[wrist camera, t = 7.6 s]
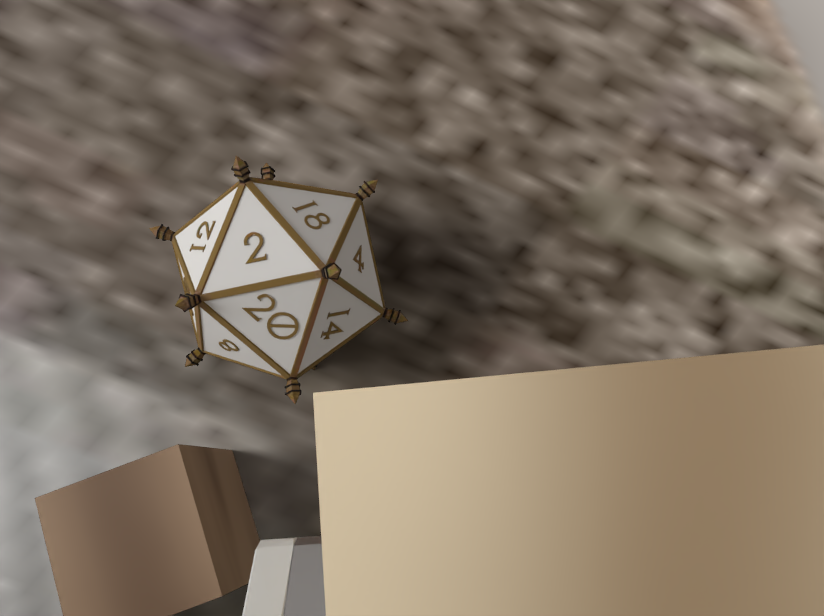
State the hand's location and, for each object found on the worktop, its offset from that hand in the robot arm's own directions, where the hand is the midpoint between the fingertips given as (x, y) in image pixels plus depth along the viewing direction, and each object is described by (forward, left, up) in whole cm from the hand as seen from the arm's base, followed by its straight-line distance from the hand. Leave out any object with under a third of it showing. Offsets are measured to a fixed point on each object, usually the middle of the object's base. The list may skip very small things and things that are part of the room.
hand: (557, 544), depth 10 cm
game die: (-7, +9, -20) cm, 23 cm away
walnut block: (-12, 0, -20) cm, 23 cm away
